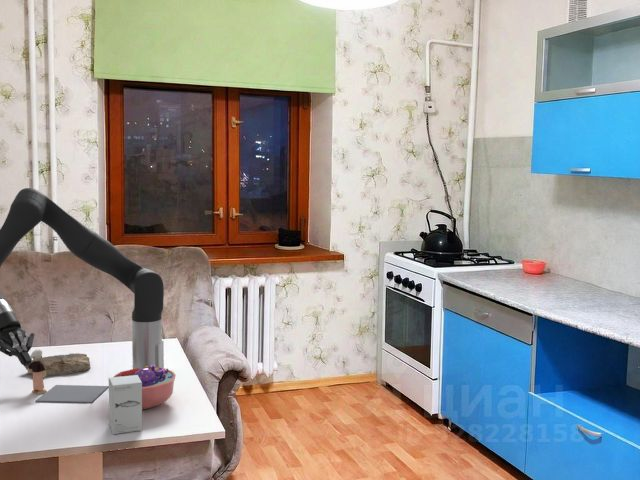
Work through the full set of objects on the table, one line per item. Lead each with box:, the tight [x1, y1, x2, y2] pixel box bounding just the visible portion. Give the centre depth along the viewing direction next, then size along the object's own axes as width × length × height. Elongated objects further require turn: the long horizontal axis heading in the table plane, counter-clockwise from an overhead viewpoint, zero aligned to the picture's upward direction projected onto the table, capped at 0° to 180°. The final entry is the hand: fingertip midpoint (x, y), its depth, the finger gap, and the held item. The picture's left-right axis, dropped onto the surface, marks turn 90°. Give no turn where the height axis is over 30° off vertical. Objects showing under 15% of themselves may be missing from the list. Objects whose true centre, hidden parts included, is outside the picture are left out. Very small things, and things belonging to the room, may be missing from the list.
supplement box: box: [108, 375, 143, 435], centre depth 169 cm, size 7×7×13 cm
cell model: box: [113, 365, 176, 410], centre depth 186 cm, size 17×20×11 cm
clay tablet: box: [23, 352, 91, 377], centre depth 218 cm, size 14×5×20 cm
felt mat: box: [35, 384, 109, 404], centre depth 195 cm, size 16×14×1 cm
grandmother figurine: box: [27, 349, 48, 395], centre depth 196 cm, size 8×4×13 cm, turn 71°
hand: (27, 364), depth 197 cm, fingers closed
